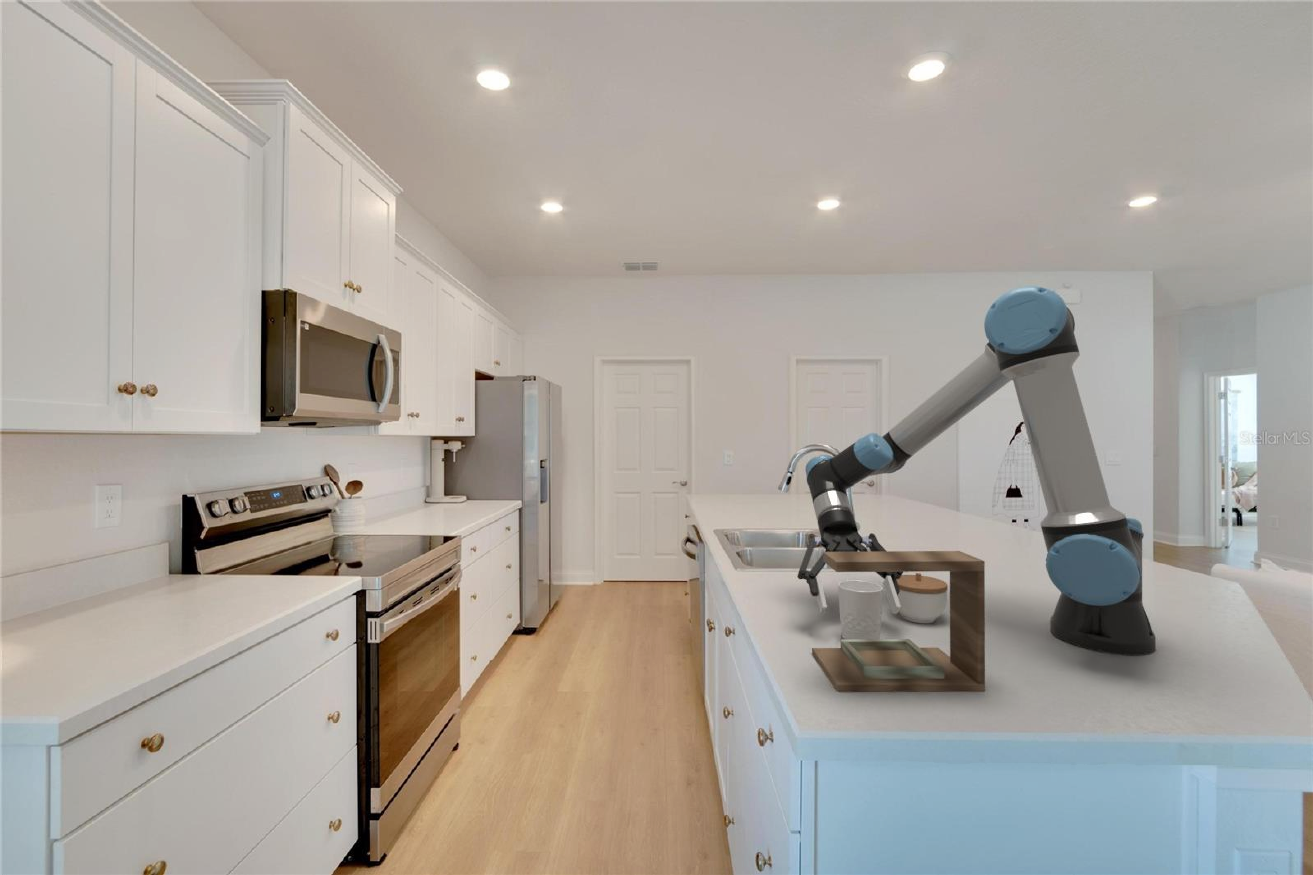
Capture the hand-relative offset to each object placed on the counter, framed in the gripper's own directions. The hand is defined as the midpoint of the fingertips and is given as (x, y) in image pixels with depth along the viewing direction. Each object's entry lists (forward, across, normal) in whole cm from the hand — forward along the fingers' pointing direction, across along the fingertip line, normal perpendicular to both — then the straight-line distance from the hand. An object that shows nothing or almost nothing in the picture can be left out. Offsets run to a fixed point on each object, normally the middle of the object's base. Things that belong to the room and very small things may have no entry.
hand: (860, 610), depth 102 cm
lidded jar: (-4, -16, -12) cm, 21 cm away
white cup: (+3, 0, -5) cm, 6 cm away
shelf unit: (+13, 0, +5) cm, 14 cm away
